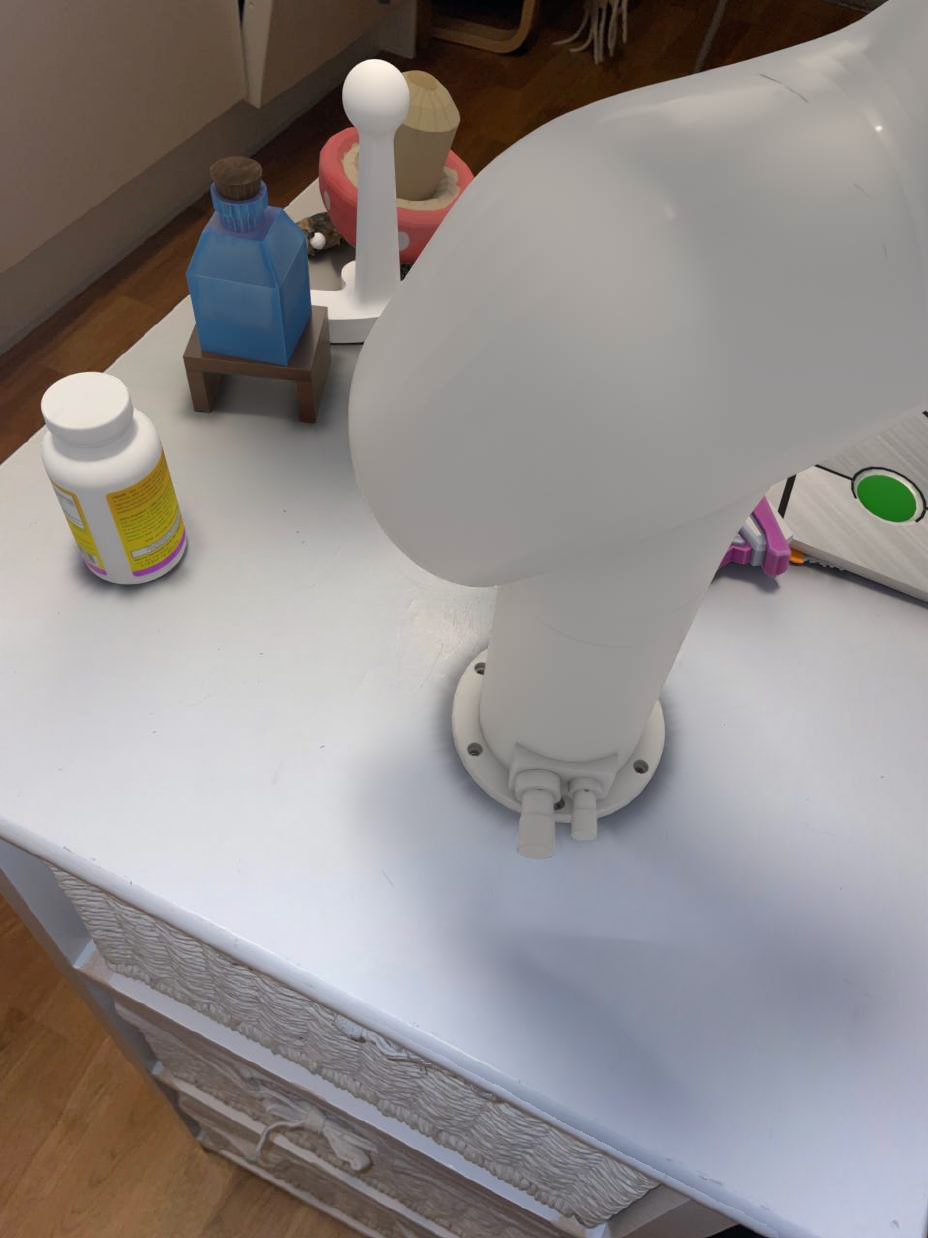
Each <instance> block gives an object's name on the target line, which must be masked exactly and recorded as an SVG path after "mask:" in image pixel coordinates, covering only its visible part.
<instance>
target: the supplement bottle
mask: <svg viewBox="0 0 928 1238" xmlns="http://www.w3.org/2000/svg"><path fill="white" fill-rule="evenodd" d="M40 410H41V413H42V416H43V419H44V422H45V426H46V428H47V431H46V432H45V434H44V436H43V438H42V441H41V446H40V448H41V449H40V457H41V462H42V465H43V468H44V470H45V472H46V474H47V475H46V476H48V479H49V482H50V484H51V486H52V488H53V490H54V493H55V495H56V497H57V500H58V502H59V505H60V508H61V510H62V512H63V514H64V517H65V521H66V522H67V524H68V526H69V528H70V531H71V534H72V536H73V539H74V541H75V543H76V545H77V548H78V551H79V552H80V555H81V557H82V560H83V561H84V563H85V564H86V566H87V567H88V569H89V570H90V571H91V572H92V573H93V574H95V575H96V576H97V577H98V578H100V579H102V580H105V581H107V582H109V583H113V584H119V585H139V584H144V583H149V582H151V581H154V580H156V579H159V578H161V577H162V576H164V575H166V574H167V573H168V572H170V571H171V570H172V569H173V568H175V566H176V565H177V564H178V563H179V561H180V560H181V558H182V557H183V555H184V553H185V550H186V548H187V547H186V545H187V532H186V526H185V523H184V519H183V515H182V512H181V508H180V505H179V502H178V498H177V495H176V491H175V490H176V489H175V487H174V483H173V480H172V476H171V473H170V468H169V465H168V461H167V458H166V455H165V451H164V447H163V443H162V439H161V436H160V434H159V430H158V429H157V427H156V426H155V424H154V422H152V420H151V419H150V418H149V417H148V416H147V414H144V413H143V412H142V411H141V410H139V409H137V408H135V407H134V404H133V401H132V398H131V394H130V391H129V389H128V388H127V386H126V384H124V382H123V381H122V380H120V379H119V378H117V377H116V376H113V375H111V374H108V373H105V372H99V371H86V372H78V373H74V374H70V375H67V376H65V377H62V378H60V379H59V380H57V381H56V382H54V383H53V384H51V385H50V386H49V387H48V388H47V390H46V391H45V392H44V394H43V395H42V398H41V401H40Z"/></svg>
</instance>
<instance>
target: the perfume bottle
mask: <svg viewBox="0 0 928 1238" xmlns="http://www.w3.org/2000/svg"><path fill="white" fill-rule="evenodd" d="M209 172H210V177H211V179H212V181H213V183H212V184H211V187H210V194H211V200H212V201H211V202H212V205H213V209H214V210H215V211H214V212H213V214H212V216H211V217H210V219H209V220H208V222H207V223H206V225H205V226H204V228H203V230H202V231H201V234H200V237H199V239H198V242H197V244H196V247H195V249H194V252H193V254H192V257H191V258H190V259H191V260H190V262H189V264H188V267H187V270H186V272H185V276H186V280H187V281H186V282H187V285H188V292H189V296H190V301H191V305H192V310H193V311H192V312H193V317H194V321H195V324H196V327H197V332H198V337H199V342H200V347H201V350H202V351H207V352H212V353H218V354H223V355H229V356H234V357H240V358H245V359H251V360H256V361H262V362H267V363H273V364H278V365H283V366H287V364H288V362H289V360H290V358H291V356H292V354H293V352H294V349H295V347H296V345H297V343H298V341H299V339H300V337H301V335H302V332H303V330H304V328H305V326H306V324H307V322H308V320H309V317H310V315H311V313H312V307H311V294H310V290H311V284H310V283H311V282H310V271H309V270H310V268H309V257H308V255H309V254H307V242H306V235H305V234H304V233H303V232H302V231H301V230H300V228H299V227H298V226H297V225H296V224H295V223H296V222H295V221H294V220H293V218H291V216H289V214H288V213H287V212H286V210H285V209H283V207H277V206H271V205H269V198H268V188H267V184H266V183H265V182H264V181H263V180H262V177H263V168H262V165H261V164H260V163H259V162H258V161H256V160H254V159H252V158H249V157H246V156H228V157H224V158H221V159H219V160H217V161H215V162H213V164H211V166H210V169H209Z"/></svg>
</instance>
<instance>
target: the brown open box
mask: <svg viewBox="0 0 928 1238" xmlns="http://www.w3.org/2000/svg"><path fill="white" fill-rule="evenodd" d="M311 307H312V313H311V315H310V317H309V320H308V322H307V324H306V326H305V328H304V330H303V332H302V335H301V337H300V339H299V341H298V343H297V345H296V347H295V349H294V352H293V354H292V356H291V358H290V360H289V362H288V364H287V366H283V365H278V364H273V363H267V362H262V361H256V360H251V359H245V358H240V357H234V356H229V355H223V354H218V353H212V352H207V351H202V350H201V347H200V342H199V337H198V332H197V327H196V323H195V324H194V327H193V329H192V331H191V334H190V337H189V339H188V341H187V344H186V346H185V350H184V352H183V354H182V359H183V365H184V369H185V374H186V378H187V383H188V388H189V393H190V398H191V401H192V406H193V411H197V412H206V413H211V410H212V408H213V404H214V402H215V399H216V397H217V393H218V391H219V387H220V384H221V381H222V379H223V376H224V375H232V376H242V377H250V378H251V377H252V378H260V379H270V380H279V381H289V382H294V383H295V391H296V392H295V393H296V402H297V412H298V413H297V414H298V420H299V423H308V424H309V423H310V424H316V423H317V418H318V414H319V411H320V405H321V401H322V397H323V393H324V389H325V386H326V381H327V378H328V374H329V369H330V365H331V362H332V355H331V353H332V352H331V343H330V336H329V321H328V307H326V306H316V305H311Z"/></svg>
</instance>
